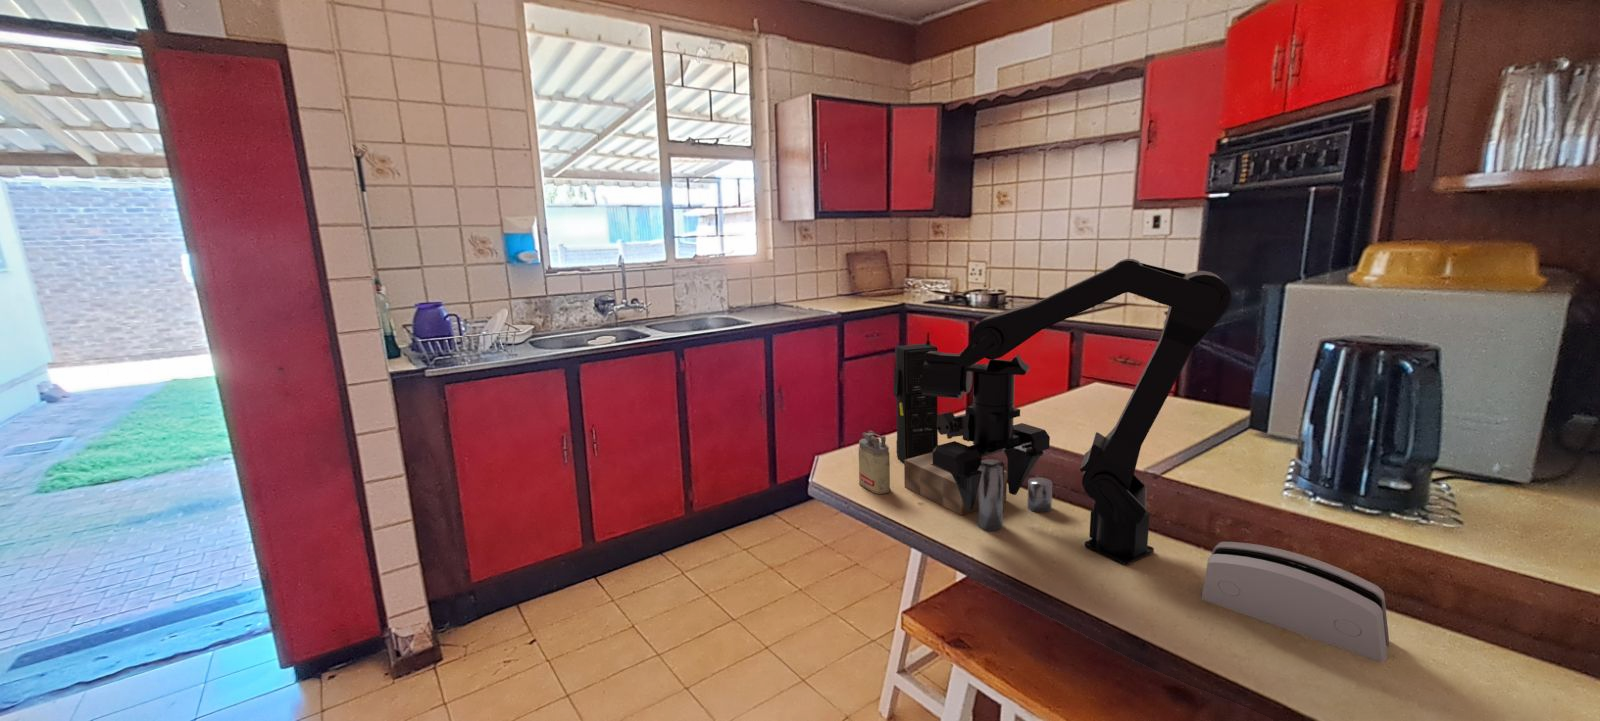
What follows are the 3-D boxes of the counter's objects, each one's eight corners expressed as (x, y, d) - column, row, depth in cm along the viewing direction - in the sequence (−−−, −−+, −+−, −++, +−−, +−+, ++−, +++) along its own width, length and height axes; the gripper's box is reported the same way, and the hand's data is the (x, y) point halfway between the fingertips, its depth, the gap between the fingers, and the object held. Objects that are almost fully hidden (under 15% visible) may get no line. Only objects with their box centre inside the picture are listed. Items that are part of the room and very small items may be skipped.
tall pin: (1007, 527, 96) (1009, 464, 94) (990, 533, 94) (992, 469, 92) (989, 518, 99) (990, 457, 97) (972, 524, 97) (973, 462, 95)
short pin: (1056, 509, 101) (1057, 482, 100) (1040, 515, 100) (1042, 488, 99) (1037, 501, 104) (1038, 475, 103) (1022, 506, 103) (1023, 480, 102)
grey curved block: (1391, 641, 68) (1401, 573, 63) (1383, 675, 65) (1393, 606, 61) (1211, 581, 80) (1210, 521, 76) (1199, 608, 77) (1196, 546, 73)
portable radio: (902, 467, 121) (901, 338, 116) (890, 457, 127) (888, 333, 122) (940, 462, 123) (941, 335, 118) (926, 452, 129) (926, 330, 123)
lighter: (855, 482, 115) (853, 429, 113) (872, 478, 117) (871, 426, 115) (877, 496, 109) (877, 440, 107) (895, 491, 111) (895, 436, 109)
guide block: (1006, 500, 105) (1007, 471, 104) (961, 515, 100) (961, 485, 99) (947, 474, 117) (947, 448, 116) (904, 486, 112) (904, 459, 111)
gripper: (996, 381, 104) (994, 471, 107) (907, 400, 95) (908, 498, 98) (1054, 395, 95) (1049, 493, 98) (961, 417, 85) (960, 525, 89)
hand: (991, 501), depth 96 cm, fingers open, 9 cm apart
